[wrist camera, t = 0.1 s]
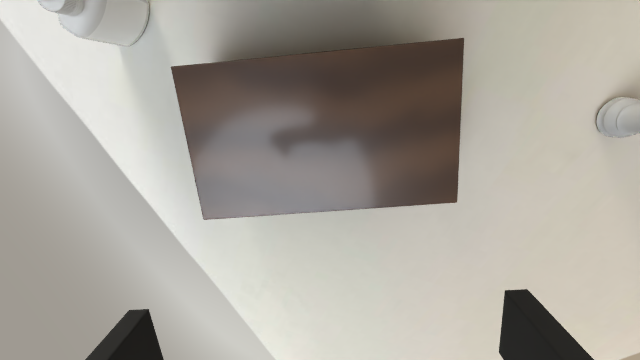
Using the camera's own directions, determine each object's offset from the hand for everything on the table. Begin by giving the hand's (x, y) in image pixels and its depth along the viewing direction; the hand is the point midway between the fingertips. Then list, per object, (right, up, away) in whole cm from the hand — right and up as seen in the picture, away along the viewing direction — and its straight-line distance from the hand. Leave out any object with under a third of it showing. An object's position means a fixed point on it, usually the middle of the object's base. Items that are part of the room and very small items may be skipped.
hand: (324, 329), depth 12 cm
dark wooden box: (0, +12, +25) cm, 28 cm away
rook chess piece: (+33, +13, +24) cm, 43 cm away
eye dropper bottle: (-21, +23, +23) cm, 39 cm away
